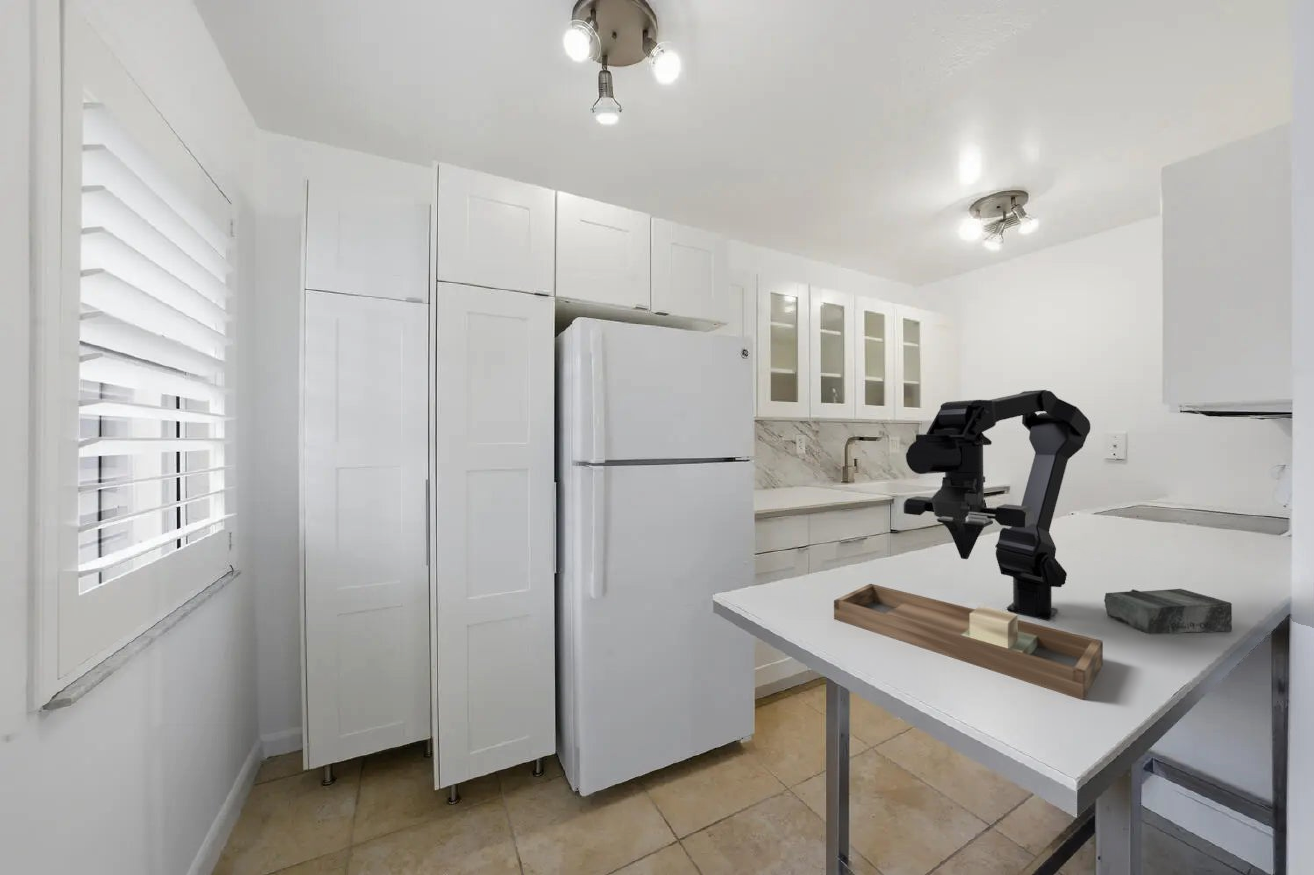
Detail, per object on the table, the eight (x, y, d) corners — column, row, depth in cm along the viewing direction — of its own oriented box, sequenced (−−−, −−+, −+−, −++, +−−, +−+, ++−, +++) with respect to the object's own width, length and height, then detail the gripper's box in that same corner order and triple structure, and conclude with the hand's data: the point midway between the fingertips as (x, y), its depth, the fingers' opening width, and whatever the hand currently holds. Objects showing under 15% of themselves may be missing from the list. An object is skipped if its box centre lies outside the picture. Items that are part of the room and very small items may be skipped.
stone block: (1098, 615, 88) (1097, 587, 88) (1175, 613, 88) (1174, 585, 88) (1147, 635, 79) (1147, 604, 79) (1233, 633, 79) (1233, 602, 79)
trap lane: (870, 600, 97) (870, 583, 97) (1102, 664, 70) (1102, 640, 70) (834, 618, 88) (833, 600, 88) (1083, 699, 61) (1083, 673, 61)
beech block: (980, 629, 78) (980, 605, 78) (1017, 639, 74) (1017, 614, 74) (969, 638, 74) (969, 613, 74) (1007, 649, 71) (1007, 623, 70)
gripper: (889, 471, 86) (890, 556, 86) (1014, 478, 71) (1015, 581, 71) (915, 467, 93) (916, 546, 93) (1034, 473, 78) (1035, 566, 78)
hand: (964, 558), depth 84 cm, fingers closed
